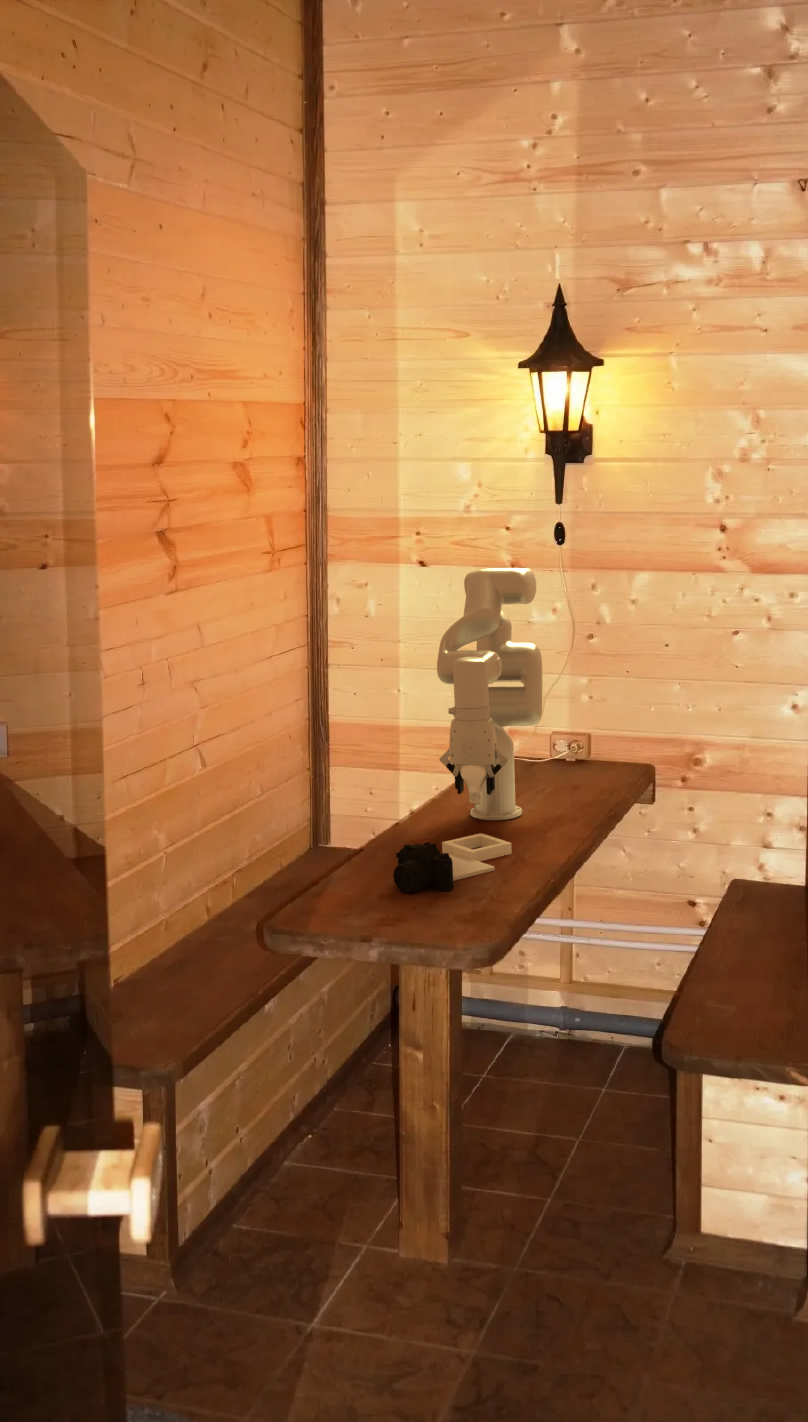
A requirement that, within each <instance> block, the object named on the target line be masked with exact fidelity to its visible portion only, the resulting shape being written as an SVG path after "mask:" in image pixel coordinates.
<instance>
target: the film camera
mask: <svg viewBox="0 0 808 1422" xmlns="http://www.w3.org/2000/svg"><path fill="white" fill-rule="evenodd" d="M395 859H397V866H395V868H394V870H393V875H392V876H393V881H394V885H395V886H396V888H397V889H398V890H399V891H400V892H402V893H412V892H415V891H420V890H423V889H424V890H423V891H426V890H434V891H438V892H442V893H445V892H446V893H447V892H451V891H453V890H454V881H453V862H452V858H451V857H449V854H448V853H441V851H440V850H439V847H438V846H437V843H430V841H428V842H424V843H423V844H420V843H414V844H404V845H403V847H402V848H400V849H399V851H398V852H396V854H395Z"/></svg>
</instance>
